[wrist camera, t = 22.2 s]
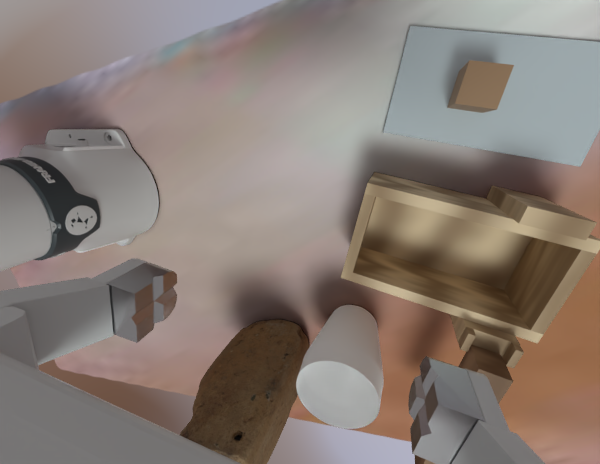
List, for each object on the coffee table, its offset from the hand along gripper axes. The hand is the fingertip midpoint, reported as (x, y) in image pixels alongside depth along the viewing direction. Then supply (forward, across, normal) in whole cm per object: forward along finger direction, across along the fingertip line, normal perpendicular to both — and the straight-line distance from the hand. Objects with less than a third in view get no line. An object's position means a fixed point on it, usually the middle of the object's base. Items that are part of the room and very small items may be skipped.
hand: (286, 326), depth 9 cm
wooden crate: (+27, -10, +4) cm, 29 cm away
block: (+28, +6, +26) cm, 39 cm away
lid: (+27, -10, -11) cm, 31 cm away
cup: (+27, -4, +19) cm, 34 cm away
